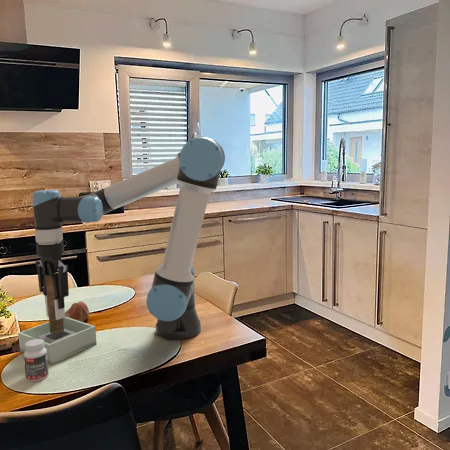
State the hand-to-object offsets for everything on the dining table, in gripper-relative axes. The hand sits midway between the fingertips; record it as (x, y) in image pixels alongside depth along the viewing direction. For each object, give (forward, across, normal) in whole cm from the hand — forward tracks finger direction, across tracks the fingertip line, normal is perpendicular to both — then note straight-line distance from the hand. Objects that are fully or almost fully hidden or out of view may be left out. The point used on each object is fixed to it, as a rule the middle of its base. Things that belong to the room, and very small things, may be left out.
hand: (55, 316), depth 131 cm
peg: (+5, 0, 0) cm, 5 cm away
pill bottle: (+10, -11, +14) cm, 21 cm away
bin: (+10, 0, 0) cm, 10 cm away
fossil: (+11, +13, -17) cm, 24 cm away
